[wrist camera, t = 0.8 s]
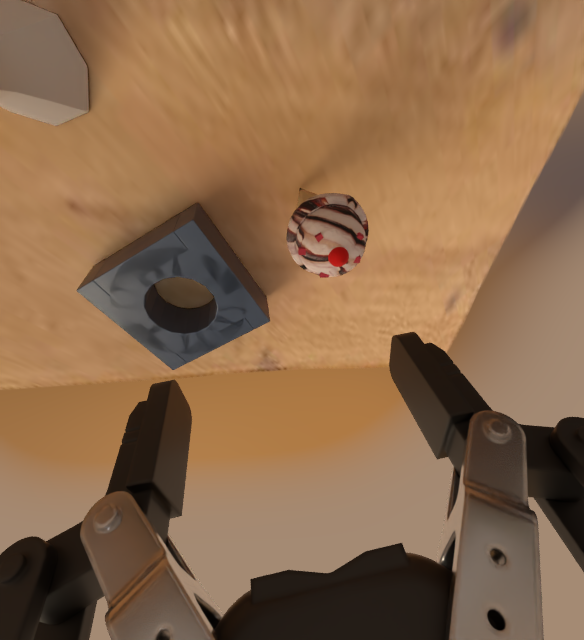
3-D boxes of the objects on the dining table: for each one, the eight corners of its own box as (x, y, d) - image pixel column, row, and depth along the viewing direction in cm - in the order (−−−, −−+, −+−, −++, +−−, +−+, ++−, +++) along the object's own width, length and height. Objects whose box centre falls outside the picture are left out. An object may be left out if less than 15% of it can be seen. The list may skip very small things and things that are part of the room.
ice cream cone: (333, 158, 29) (400, 216, 18) (325, 218, 33) (376, 301, 21) (272, 154, 28) (299, 214, 17) (270, 217, 32) (291, 303, 20)
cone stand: (197, 202, 30) (193, 219, 26) (266, 298, 38) (270, 321, 34) (92, 266, 32) (75, 290, 29) (178, 344, 40) (173, 370, 37)
